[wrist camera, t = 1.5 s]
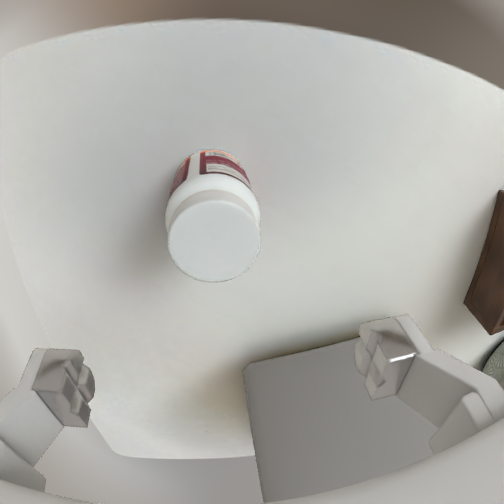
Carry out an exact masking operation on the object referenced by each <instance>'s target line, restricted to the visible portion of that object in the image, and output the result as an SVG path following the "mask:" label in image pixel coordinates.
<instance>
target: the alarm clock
mask: <svg viewBox="0 0 504 504" xmlns="http://www.w3.org/2000/svg"><path fill="white" fill-rule="evenodd" d="M360 338H361V337H359V338H355V339H352V340H348V341H344V342H340V343H337V344H333V345H329V346H325V347H321V348H317V349H312V350H308V351H304V352H300V353H295V354H291V355H286V356H281V357H277V358H272V359H267V360H262V361H257V362H252V363H250V364H249V365H248V366H247V367H246V368H245V369H244V370H243V377H244V384H245V392H246V399H247V406H248V413H249V419H250V426H251V432H252V438H253V444H254V450H255V456H256V462H257V468H258V473H259V479H260V485H261V490H262V496H263V502H264V503H269V502H276V501H282V500H288V499H293V498H299V497H304V496H309V495H313V494H318V493H322V492H326V491H331V490H335V489H338V488H342V487H346V486H349V485H353V484H356V483H360V482H363V481H366V480H369V479H373V478H376V477H379V476H382V475H384V474H387V473H390V472H393V471H396V470H398V469H401V468H404V467H406V466H409V465H411V464H414V463H416V462H419V461H421V460H423V459H426V458H428V457H430V456H433V455H434V454H433V452H432V449H431V447H430V445H429V443H428V442H429V440H430V438H431V437H432V436H433V434H434V433H435V432H436V431H437V430H438V427H436V426H435V425H434V424H432V423H431V422H430V421H428V420H427V419H426V418H424V417H423V416H422V415H420V414H419V413H418V412H416V411H415V410H414V409H413V408H411V407H410V406H409V405H407V404H406V403H405V402H403V401H402V400H401V399H399V398H398V397H397V396H396V395H397V394H396V395H393V396H389V397H385V398H381V399H377V400H373V401H371V399H370V396H369V394H368V392H367V390H366V388H365V386H364V382H365V379H366V377H365V376H363V375H361V374H360V373H359V372H358V370H357V368H356V365H355V361H354V348H355V344H356V342H357V341H358V340H359V339H360Z"/></svg>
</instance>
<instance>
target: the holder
mask: <svg viewBox="0 0 504 504" xmlns="http://www.w3.org/2000/svg"><path fill="white" fill-rule="evenodd" d="M464 305H465V306H466V307H467V308H468V309H469V311H470V312H471V313H472V314H473V315H474V316H475V318H476V319H477V320H478V321H479V322H480V324H481V325H482V326H483V327H484V329H485V330H486V331H487V332H488V334H489V335H493V334H496V333H498V332H500V331H503V330H504V190H499V194H498V198H497V202H496V206H495V210H494V214H493V218H492V222H491V225H490V229H489V232H488V236H487V239H486V242H485V245H484V249H483V252H482V255H481V258H480V261H479V264H478V266H477V269H476V272H475V275H474V278H473V280H472V283H471V286H470V288H469V291H468V293H467V296H466V298H465V301H464Z"/></svg>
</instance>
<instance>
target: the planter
mask: <svg viewBox="0 0 504 504" xmlns="http://www.w3.org/2000/svg"><path fill="white" fill-rule="evenodd" d="M483 373H485V374H487V375H488V376H490V377H492V378H494V379H496V380H497V382H498V383H499V385H500V386H501V388H502V389H503V391H504V342H502V343H501V344H500V345H499V347H498V348H497V349H496V350H495V351H494V352H493V354H492V355H491V356H490V358H489V359H488V361H487V363H486V364H485V367H484V369H483Z"/></svg>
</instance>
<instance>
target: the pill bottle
mask: <svg viewBox="0 0 504 504" xmlns="http://www.w3.org/2000/svg"><path fill="white" fill-rule="evenodd" d="M165 224H166V229H167V233H168V249H169V253H170V256H171V258H172V260H173V262H174V263H175V265H176V266H177V267H178V268H179V269H180V270H181V271H182V272H183V273H185V274H186V275H188V276H189V277H191V278H194V279H196V280H199V281H204V282H223V281H227V280H230V279H233V278H235V277H237V276H239V275H241V274H242V273H243V272H245V271H246V270H247V269H248V268H249V267H250V266H251V265H252V264H253V262H254V261H255V259H256V257H257V255H258V252H259V249H260V243H261V236H260V230H259V226H260V208H259V204H258V201H257V198H256V197H255V195H254V192H253V190H252V187H251V185H250V182H249V180H248V178H247V176H246V173H245V171H244V169H243V167H242V165H241V164H240V162H239V161H238V160H237V159H236V158H235V157H233V156H232V155H230V154H228V153H226V152H224V151H221V150H215V149H208V150H202V151H199V152H196V153H194V154H192V155H191V156H189V157H188V158H187V159H186V160H185V161H184V162H183V163H182V164H181V165H180V167H179V169H178V171H177V173H176V176H175V179H174V183H173V186H172V190H171V193H170V197H169V200H168V204H167V206H166V211H165Z"/></svg>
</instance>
